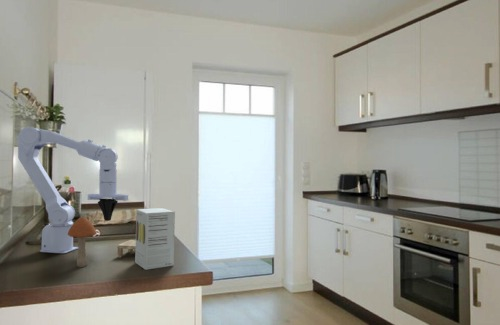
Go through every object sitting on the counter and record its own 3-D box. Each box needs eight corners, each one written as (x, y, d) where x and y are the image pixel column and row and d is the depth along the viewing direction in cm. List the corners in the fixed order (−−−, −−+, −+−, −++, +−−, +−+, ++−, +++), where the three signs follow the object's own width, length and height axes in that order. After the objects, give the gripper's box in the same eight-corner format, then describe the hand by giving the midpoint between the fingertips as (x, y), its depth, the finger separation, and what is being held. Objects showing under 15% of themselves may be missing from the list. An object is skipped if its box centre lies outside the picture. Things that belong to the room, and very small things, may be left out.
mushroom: (77, 271, 108) (78, 219, 108) (61, 267, 112) (62, 216, 112) (101, 265, 115) (102, 216, 115) (85, 261, 119) (86, 213, 119)
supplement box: (134, 262, 119) (135, 209, 119) (162, 258, 124) (163, 207, 124) (145, 270, 111) (146, 212, 111) (174, 265, 116) (175, 210, 116)
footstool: (117, 245, 125) (143, 246, 123) (130, 239, 134) (154, 241, 132) (117, 257, 125) (142, 259, 123) (130, 251, 134) (154, 252, 132)
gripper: (132, 182, 138) (132, 219, 138) (95, 181, 140) (95, 218, 140) (122, 183, 131) (122, 222, 131) (84, 182, 133) (83, 221, 133)
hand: (107, 220), depth 135 cm, fingers closed
